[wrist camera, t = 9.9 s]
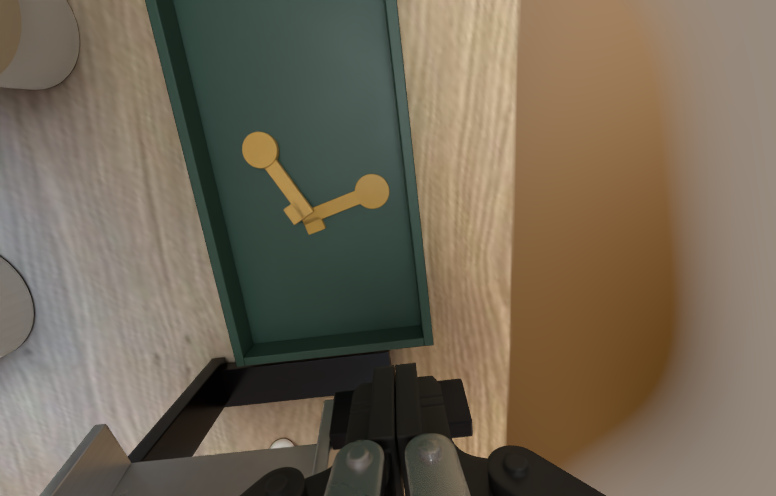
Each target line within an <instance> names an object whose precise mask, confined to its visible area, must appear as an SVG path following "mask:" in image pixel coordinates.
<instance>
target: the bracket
mask: <svg viewBox="0 0 776 496" xmlns="http://www.w3.org/2000/svg"><path fill="white" fill-rule="evenodd" d="M383 366H391V358H390V351H389V350H383V351H374V352H365V353H356V354H347V355H338V356H329V357H320V358H311V359H302V360H293V361H284V362H275V363H266V364H257V365H248V366H246V365H245V366H239V367H237V365H236V362H233V363H226V360H225V358H215V359H212V360H211V361H210V362H209V363H208V364H207V365H206V367H205V368H204V369H203V370H202V371H201V372H200V374H199V375H198V376H197V377H196V378H195V379H194V380H193V382H192V383H191V384H190V385H189V386H188V387H187V389H186V390H185V391H184V392H183V393H182V394H181V396H180V397H179V398H178V399H177V400H176V401H175V402H174V404H173V405H172V406H171V407H170V408H169V409H168V411H167V412H166V413H165V414H164V415H163V416H162V418H161V419H160V420H159V421H158V422H157V423H156V425H155V426H154V427H153V428H152V429H151V430H150V431H149V433H148V434H147V435H146V436H145V437H144V438H143V440H142V441H141V442H140V443H139V444H138V445H137V447H136V448H135V449H134V450H133V451H132V452H131V453H130V455H129V456H128V458H129V460H130V461H131V463H137V462H146V461H156V460H166V459H176V458H185V457H192V456H193V454H194V453H195V451H196V450H197V448H198V447H199V445H200V444H201V442H202V441H203V439H204V438H205V436H206V435H207V433H208V431H209V430H210V428H211V427H212V425H213V424H214V422H215V421H216V419H217V418H218V416H219V415H220V413H221V412H222V410H223V408H224V407H231V406H241V405H250V404H259V403H269V402H278V401H287V400H297V399H306V398H315V397H325V396H334V395H335V392H340V391H349V390H356V389H357V387H358V386H359V385H360V384H361V383H370V382H373V371H374V367H383Z"/></svg>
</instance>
